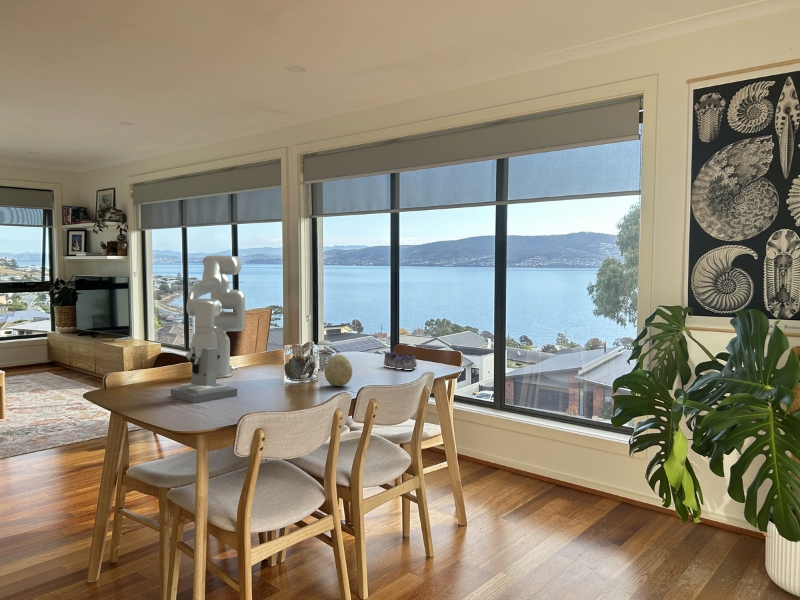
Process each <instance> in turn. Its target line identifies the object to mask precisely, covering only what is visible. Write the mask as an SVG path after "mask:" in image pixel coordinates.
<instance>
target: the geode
mask: <svg viewBox="0 0 800 600" xmlns="http://www.w3.org/2000/svg"><path fill="white" fill-rule="evenodd" d="M384 365H386V366H390V367H395V368H402V369H413V368H414V367H416V368H417V360H416V356H415V355H413V354H412V355H411V354H402V353H399V354H397V353H396V352H395V351H393V350H392V351H390V352H388V351H387V353H384V361H383V366H384ZM414 369H415V368H414ZM414 369H413V370H414Z"/></svg>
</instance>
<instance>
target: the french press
mask: <svg viewBox="0 0 800 600" xmlns="http://www.w3.org/2000/svg"><path fill="white" fill-rule="evenodd" d="M323 325H324V326H327V325H328V323H327V322H325V321H324V322H323ZM317 345H318V346H330V348H331V349H334V350H335V355H336V354H338V349H337V348H336V347H335V346H334V345H333V342H332V341H330V340H327V339H323V340H320V341H318V342H317ZM331 349H319V352H318V353H319V357H320V359H319V361H320V362H319V363H320V364H319V365H320V369H325V366H326V364H327V362H328V361H329V359H330V358H331V357H333V353H332V350H331Z"/></svg>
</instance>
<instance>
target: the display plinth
mask: <svg viewBox="0 0 800 600" xmlns="http://www.w3.org/2000/svg"><path fill="white" fill-rule="evenodd" d="M178 386H179V387H174V388H170V397H173V398H176V399H179V400H183V401H186V402H189V403H193V404H198V403H203V402H209V401H210V402H211V401H215V399H216V400H220V399H221V398H222V399H227V397H228V398H232V397H238V388H236V387H231V386H230V385H228V384H220V383H217V382H216V384H214V385H209V386H201V385H193V384H191V382H190V383H183V384H179V385H178ZM222 399H221V400H222Z"/></svg>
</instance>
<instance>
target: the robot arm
mask: <svg viewBox="0 0 800 600" xmlns="http://www.w3.org/2000/svg"><path fill="white" fill-rule="evenodd" d="M202 264H203V272H202V278H201V281H199V282H197V283H196V284H195V285H194V286H193V287H192V288H190V290H189V292H188V295H187V301H186V313H187V314H188V315H189V316H191V317H194V318H195V319H194V321H195V322H194V333H193V334H192V337H191V344H190V350H189V351H188V352H187V353H186V354H185V358H187V360H188V361H189V362H190V364H191V372H192V371H193V373H194V374H198V364H197V362H198V360H199V358H201V357H202V349H203V348H215V347H216V348H218V358H217V375H216V379H217V378H219V379H221V378H222V379H223V378H229V377H232V376H233V375H234V373H233V371H238V370H239V366H236V365H235V366H231V364H230V362H231V361H230V360H231V359H230V357H231V355H230V354H231V353H230V352H231V341H230V337H229V336H228V334H227V333H226V332H240V331H241V332H242V331H243V330H244V329H245V326H246V305H245V304H246V300H245V299H246V297H245V293H244V292H243V291H242V290H240V289H230V281H229V277H228V275H229V276H230V275H234V276H236V275H239V274H240V273H241V270H242V260H241V258H240V257H239V256H237V255H236V256H235V255H214V254H213V255H206V256H205V257H203V259H202ZM207 294H210V298H200V297H201V296H205V295H207ZM223 310H234V311H223ZM193 353H195V355H193ZM193 356H194V357H193Z"/></svg>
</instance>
